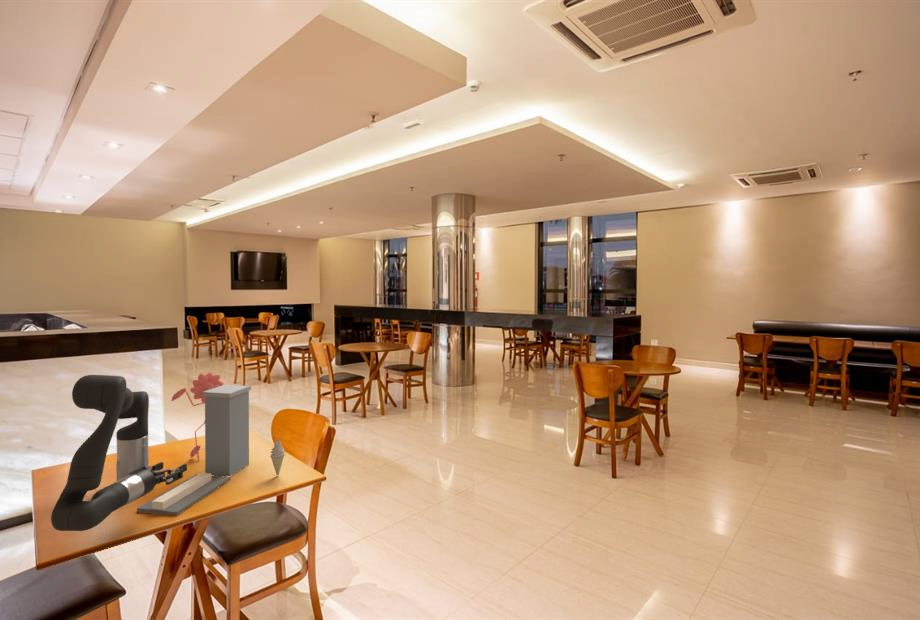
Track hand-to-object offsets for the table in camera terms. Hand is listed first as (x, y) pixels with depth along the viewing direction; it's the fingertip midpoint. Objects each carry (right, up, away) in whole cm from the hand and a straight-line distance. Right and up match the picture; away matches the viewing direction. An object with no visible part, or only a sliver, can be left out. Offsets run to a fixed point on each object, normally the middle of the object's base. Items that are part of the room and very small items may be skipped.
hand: (174, 465), depth 147 cm
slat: (0, -11, +5) cm, 12 cm away
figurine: (-13, -10, +43) cm, 46 cm away
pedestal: (+3, -11, +28) cm, 30 cm away
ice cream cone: (+25, -12, +23) cm, 36 cm away
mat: (0, -12, +6) cm, 14 cm away
